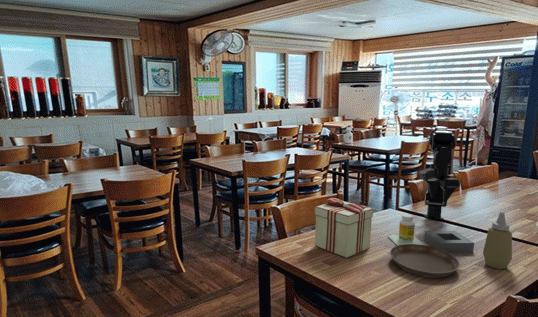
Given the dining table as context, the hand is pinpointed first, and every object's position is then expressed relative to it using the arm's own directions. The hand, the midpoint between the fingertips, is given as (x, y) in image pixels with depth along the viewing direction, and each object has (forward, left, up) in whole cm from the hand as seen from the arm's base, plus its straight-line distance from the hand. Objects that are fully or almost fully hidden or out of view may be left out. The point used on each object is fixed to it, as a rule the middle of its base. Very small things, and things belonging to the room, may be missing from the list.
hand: (438, 199), depth 149 cm
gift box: (+15, -43, -13) cm, 48 cm away
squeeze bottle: (+33, +3, -13) cm, 36 cm away
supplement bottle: (+12, -18, -12) cm, 25 cm away
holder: (+17, -4, -13) cm, 22 cm away
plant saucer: (+32, -21, -13) cm, 41 cm away
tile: (+12, -18, -13) cm, 25 cm away
